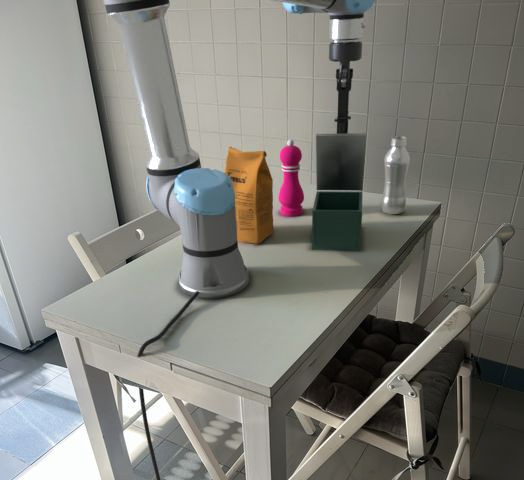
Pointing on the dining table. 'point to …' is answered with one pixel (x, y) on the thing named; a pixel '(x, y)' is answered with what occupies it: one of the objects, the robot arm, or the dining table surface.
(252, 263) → the dining table surface
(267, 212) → the coffee package
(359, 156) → the lid
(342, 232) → the tin
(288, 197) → the pepper mill
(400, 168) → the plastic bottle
